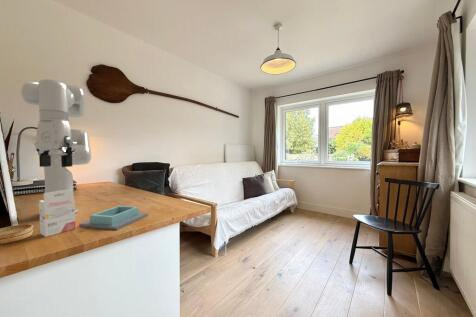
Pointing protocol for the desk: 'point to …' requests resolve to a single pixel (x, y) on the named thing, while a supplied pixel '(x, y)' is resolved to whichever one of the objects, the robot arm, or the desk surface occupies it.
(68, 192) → the ink cartridge box
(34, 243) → the desk surface
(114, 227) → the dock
